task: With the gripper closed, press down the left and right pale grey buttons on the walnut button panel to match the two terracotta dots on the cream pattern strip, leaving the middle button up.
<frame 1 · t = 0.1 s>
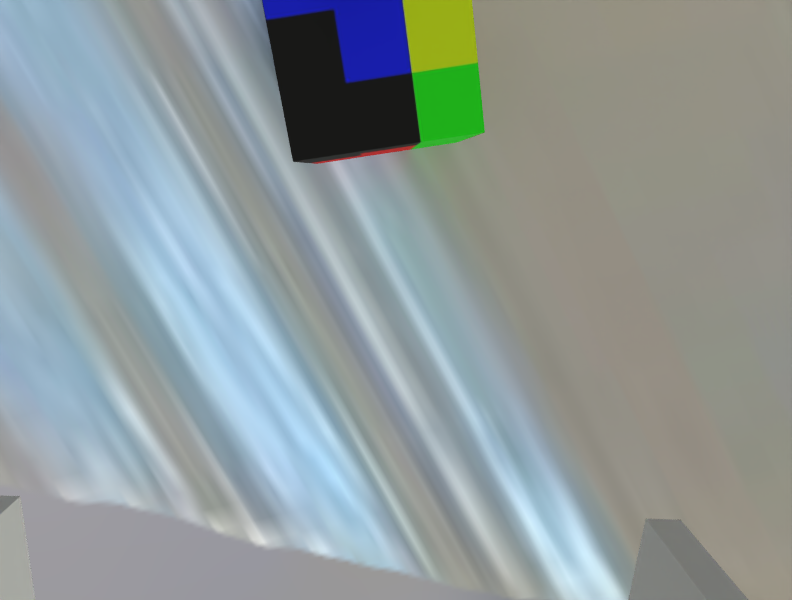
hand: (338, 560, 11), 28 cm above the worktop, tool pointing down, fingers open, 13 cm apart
puzzle toy: (376, 78, 35), on the worktop
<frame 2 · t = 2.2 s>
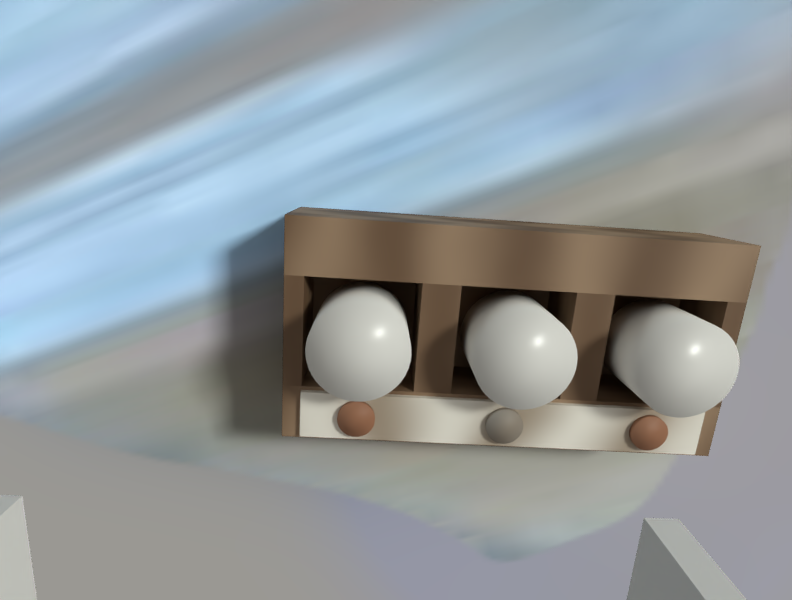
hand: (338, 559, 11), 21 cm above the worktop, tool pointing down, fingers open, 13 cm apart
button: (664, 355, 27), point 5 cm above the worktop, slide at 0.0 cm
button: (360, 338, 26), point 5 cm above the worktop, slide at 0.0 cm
middle button: (514, 346, 26), point 5 cm above the worktop, slide at 0.0 cm
button panel: (492, 317, 31), on the worktop
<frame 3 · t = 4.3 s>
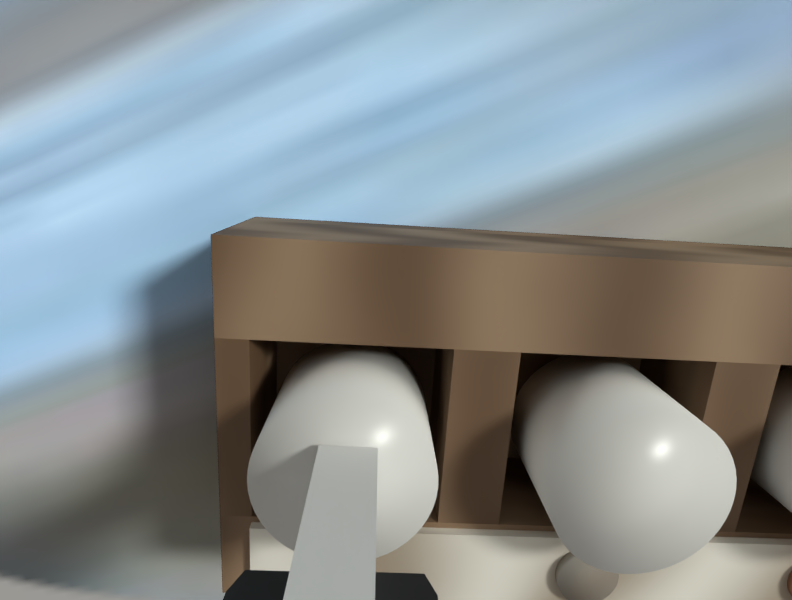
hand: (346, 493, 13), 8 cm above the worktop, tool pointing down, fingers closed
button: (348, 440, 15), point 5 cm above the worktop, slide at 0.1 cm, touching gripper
middle button: (608, 452, 16), point 5 cm above the worktop, slide at 0.0 cm
button panel: (551, 381, 21), on the worktop
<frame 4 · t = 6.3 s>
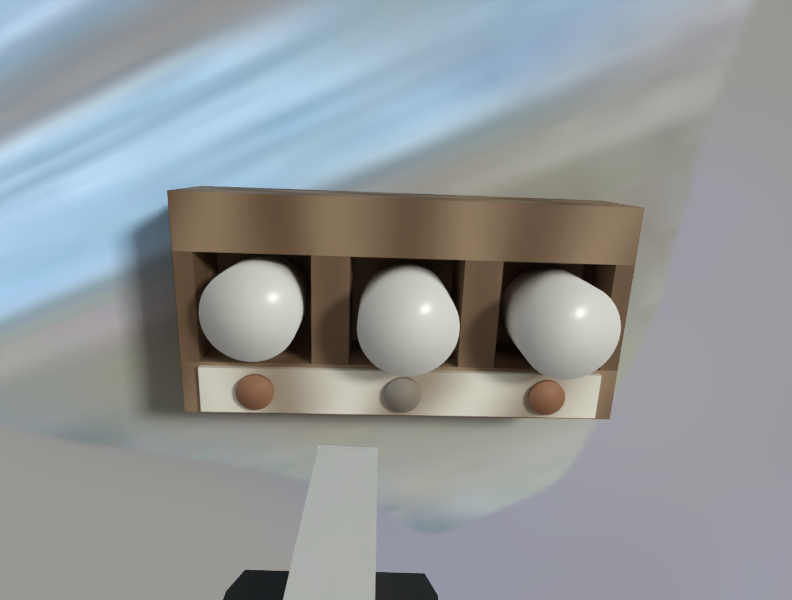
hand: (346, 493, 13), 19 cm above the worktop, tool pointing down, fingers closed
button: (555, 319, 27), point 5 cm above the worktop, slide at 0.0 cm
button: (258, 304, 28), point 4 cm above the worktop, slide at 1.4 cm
middle button: (406, 315, 26), point 5 cm above the worktop, slide at 0.0 cm
button panel: (401, 290, 32), on the worktop
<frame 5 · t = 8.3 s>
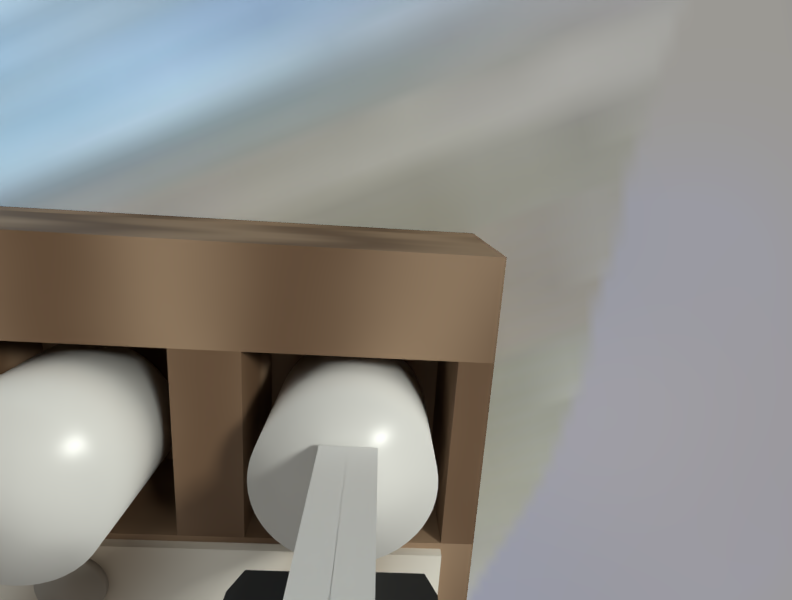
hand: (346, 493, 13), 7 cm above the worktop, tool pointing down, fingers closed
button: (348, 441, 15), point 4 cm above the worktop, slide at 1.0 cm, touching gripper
middle button: (57, 449, 14), point 5 cm above the worktop, slide at 0.0 cm
button panel: (144, 373, 19), on the worktop
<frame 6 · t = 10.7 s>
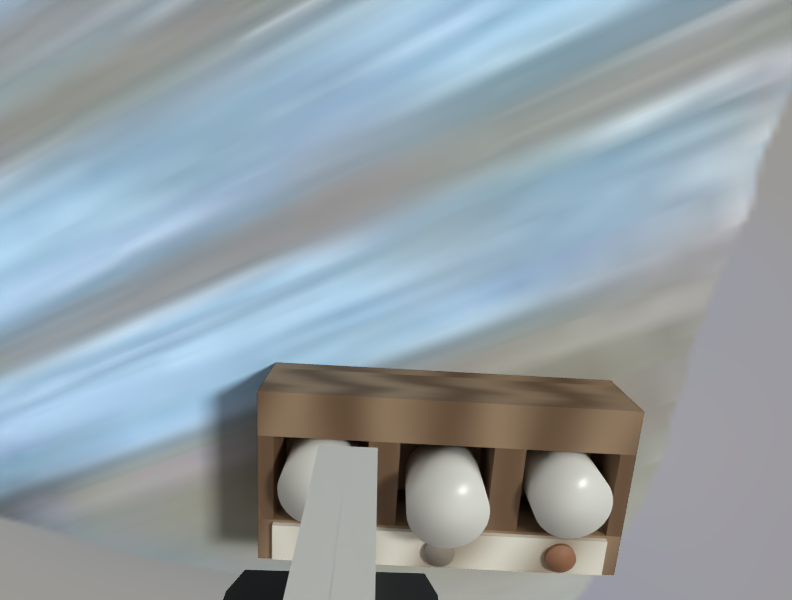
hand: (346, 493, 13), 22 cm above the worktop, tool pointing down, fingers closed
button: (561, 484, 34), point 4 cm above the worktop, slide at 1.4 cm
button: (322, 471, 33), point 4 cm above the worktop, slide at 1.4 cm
middle button: (444, 490, 32), point 5 cm above the worktop, slide at 0.0 cm
button panel: (437, 447, 37), on the worktop
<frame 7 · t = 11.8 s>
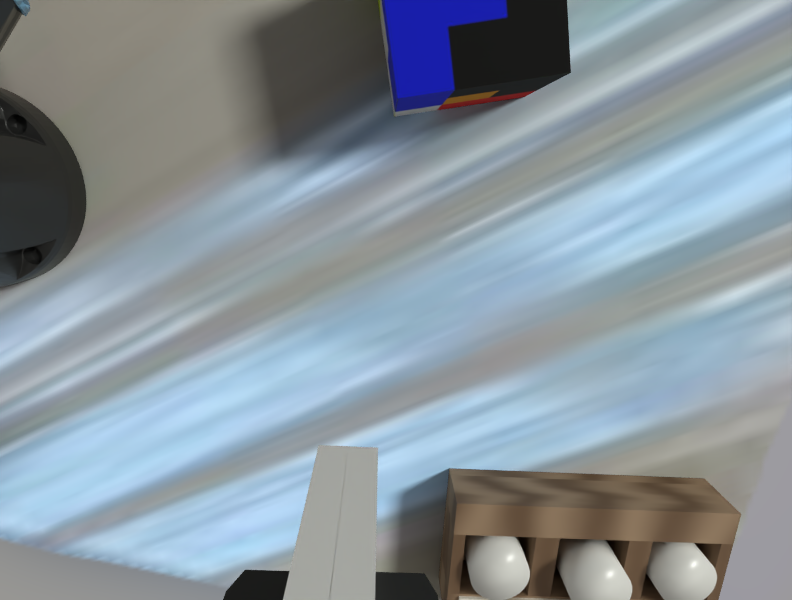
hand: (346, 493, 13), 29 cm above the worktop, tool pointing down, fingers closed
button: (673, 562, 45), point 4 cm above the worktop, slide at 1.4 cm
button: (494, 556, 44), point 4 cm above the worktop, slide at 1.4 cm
middle button: (591, 572, 43), point 5 cm above the worktop, slide at 0.0 cm
button panel: (568, 528, 48), on the worktop
puzzle toy: (450, 36, 37), on the worktop
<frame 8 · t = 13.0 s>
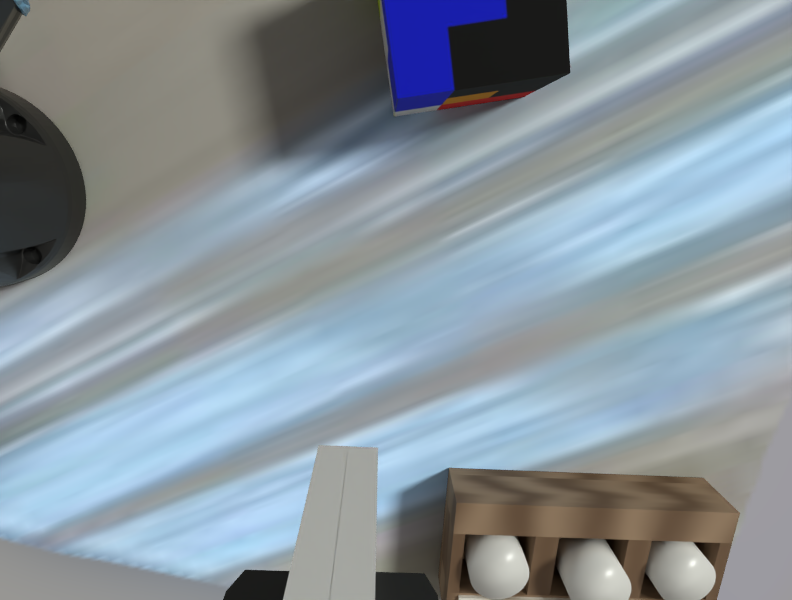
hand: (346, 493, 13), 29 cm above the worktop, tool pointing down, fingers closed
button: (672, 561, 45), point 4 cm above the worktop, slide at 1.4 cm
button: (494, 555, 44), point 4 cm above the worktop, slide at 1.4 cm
middle button: (590, 571, 43), point 5 cm above the worktop, slide at 0.0 cm
button panel: (568, 528, 48), on the worktop
puzzle toy: (450, 36, 37), on the worktop
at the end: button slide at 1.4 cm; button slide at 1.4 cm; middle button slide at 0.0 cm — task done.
